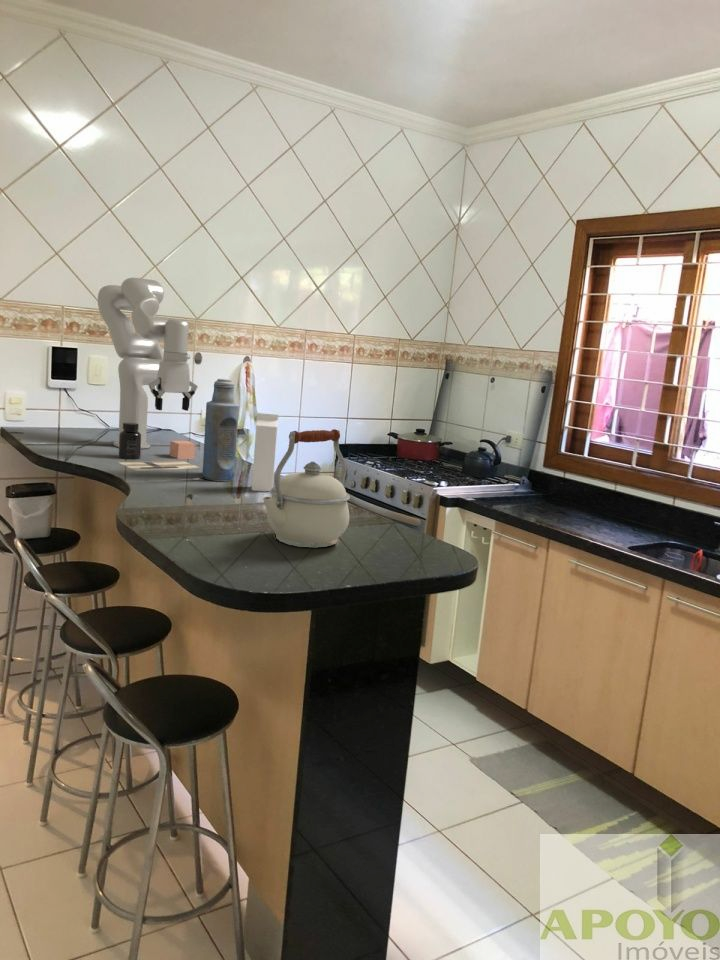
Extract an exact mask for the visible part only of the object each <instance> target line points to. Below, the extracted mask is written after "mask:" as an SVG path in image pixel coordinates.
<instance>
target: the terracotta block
mask: <svg viewBox="0 0 720 960" xmlns="http://www.w3.org/2000/svg"><path fill="white" fill-rule="evenodd" d="M169 443H170V445H169V456H170V457H172V458H174V459H177V460H184V459H186V460H188V459H195V452H196V450H195V448H196V443H194V442H192V441H189V440H170V442H169Z"/></svg>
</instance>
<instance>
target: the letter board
mask: <svg viewBox="0 0 720 960" xmlns="http://www.w3.org/2000/svg"><path fill="white" fill-rule="evenodd" d="M117 463H118V464H120V465H123V466H125V467H127V468H128V469H131V470H134V471H137V472H138V471H159V470H160V471H162V470H163V471H164V470H165V471H166V470H167V471H168V470H190V469H191V470H195V469H196V470H197V469H201V467H200V466H197V465H195V464H192V463H190V462H187V461H184V460H183V459H178V460H151V461H150V460H146V461H145V460H144V461H142V460H141V461H117Z"/></svg>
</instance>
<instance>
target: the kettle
mask: <svg viewBox="0 0 720 960" xmlns="http://www.w3.org/2000/svg"><path fill="white" fill-rule="evenodd" d="M288 439H289V441H288V443H289V444H288V447H287V450H286V452H285V454H284V456H283V457H282V459H280V461H279V464H278V465H277V467H276V469H275V470H274V477H273V485H274V486H273V488H271V490H270V493H271V495H272V496H264V497H262V500H263V504H264V506H265V510H266V518H267V522H268V524H269V526H270V528H271V529H272V531H273V532H274V533H275V534H276V536H277V537H279V538H280V539H284V540H287V541H293V542H302V543H324V542H330V541H333V540H336V539H338V538H340V536H342V535H343V534H344V532H345V531H346V530H347V529H348V527H349V523H350V511H349V504H348V501H349V500H350V498H351V496H350V494H349V493H347V491H346V488H345V486H344V482H345V481H346V480H345V479H346V474H347V464H346V461H345V459H344V456H343V454H342V451H341V450H340V445H339V444H340V439H341V433H340V429H339V430H338V429H335V428H334V429H333V428H332V429H331V430H326V429H320V430H319V429H318V430H314V429H313V430H304V431H297V430H293V431H292V430H291V431H289V435H288ZM328 441H332V442H333V450H334V451H335V454H336V456H337V458H338V460H339V463H340V475H339V479H336V478H335V477H333V476H331V475H328V474H324V473H320V471H322V468H321V466H320V465H319V464H318V463H317V462H315V461H310V462H307V464H305V465H304V466H303V469H304V471H297V472H293V473H288V474H286V475H284V476H282V477H281V473H282V470H283V469H284V467H285V465H286V464H287V462H288V460H289V459H290V457H291V456H292V454H293V452H294V449H295V444H298V443H299V442H300V443H322V442H323V443H324V442H328Z"/></svg>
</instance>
